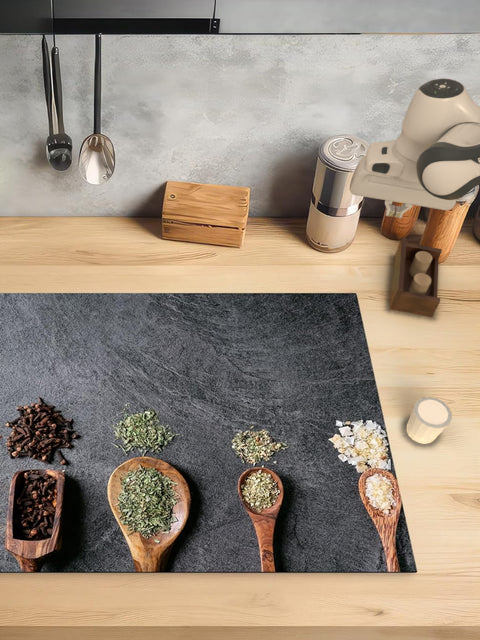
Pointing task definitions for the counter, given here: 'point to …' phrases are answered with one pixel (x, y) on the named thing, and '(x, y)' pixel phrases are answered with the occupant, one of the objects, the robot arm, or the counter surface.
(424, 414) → the shot glass
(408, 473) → the counter surface
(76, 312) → the counter surface
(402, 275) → the spice rack
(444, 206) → the robot arm
